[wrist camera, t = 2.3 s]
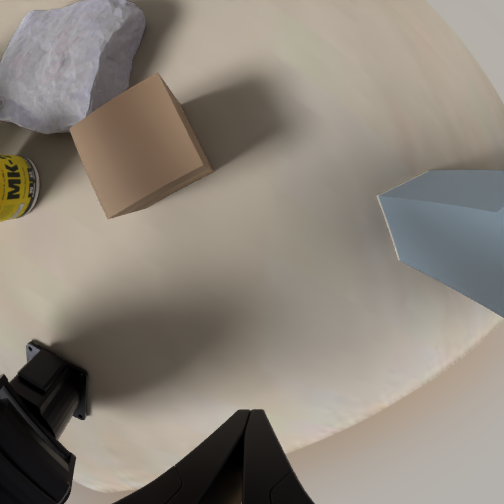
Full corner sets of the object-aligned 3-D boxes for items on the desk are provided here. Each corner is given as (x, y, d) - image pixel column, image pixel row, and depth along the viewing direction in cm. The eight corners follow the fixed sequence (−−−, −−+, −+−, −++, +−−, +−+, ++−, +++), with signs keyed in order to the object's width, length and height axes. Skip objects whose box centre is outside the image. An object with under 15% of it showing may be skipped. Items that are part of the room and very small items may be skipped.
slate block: (398, 260, 20) (506, 319, 9) (376, 195, 19) (496, 212, 8) (446, 231, 20) (555, 266, 9) (428, 170, 19) (546, 172, 8)
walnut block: (145, 208, 18) (107, 219, 12) (114, 143, 17) (69, 129, 11) (213, 171, 18) (203, 165, 12) (180, 104, 17) (157, 72, 11)
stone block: (126, 136, 19) (158, 10, 15) (92, 140, 15) (133, -15, 11) (18, 127, 18) (41, 22, 14) (-19, 133, 14) (7, 13, 10)
